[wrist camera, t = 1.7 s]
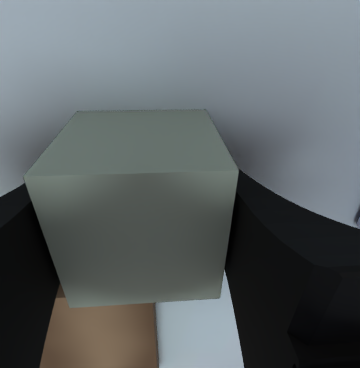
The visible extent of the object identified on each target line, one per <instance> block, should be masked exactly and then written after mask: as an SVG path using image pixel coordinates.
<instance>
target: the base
mask: <svg viewBox="0 0 360 368" xmlns="http://www.w3.org/2000/svg"><path fill="white" fill-rule="evenodd" d="M40 368H159V357H158V341H157V326H156V310H155V303H141V304H126V305H110V306H95V307H79V308H69V305H68V302H67V299H66V297H65V294H64V291H63V288H62V285H61V283H60V285H59V288H58V292H57V295H56V299H55V303H54V307H53V311H52V315H51V319H50V323H49V327H48V332H47V336H46V340H45V344H44V349H43V354H42V358H41V363H40Z"/></svg>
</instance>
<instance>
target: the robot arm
mask: <svg viewBox="0 0 360 368" xmlns="http://www.w3.org/2000/svg"><path fill="white" fill-rule="evenodd" d="M238 170H239V169H238ZM357 226H358V227H359V228H360V217H359V219H358V221H357ZM224 269H225V273H226V276H227V280H228V285H229V290H230V294H231V299H232V304H233V309H234V314H235V319H236V324H237V329H238V334H239V340H240V346H241V351H242V357H243V362H244V368H360V229H358V228H355V227H351V226H348V225H345V224H343V223H340V222H337V221H334V220H331V219H329V218H326V217H324V216H321V215H319V214H316V213H314V212H312V211H309V210H307V209H305V208H303V207H300V206H298V205H296V204H294V203H292V202H290V201H288V200H286V199H284V198H283V197H281V196H279V195H277V194H275V193H274V192H272V191H270V190H269V189H267V188H265V187H264V186H262V185H261V184H259V183H258V182H256V181H255V180H253V179H252V178H250V177H249V176H247V175H246V174H245V173H243V172H242V171H241V170H239V173H238V180H237V187H236V193H235V200H234V207H233V214H232V220H231V227H230V234H229V241H228V248H227V254H226V261H225V268H224ZM59 285H60V280H59V277H58V274H57V271H56V268H55V266H54V263H53V260H52V257H51V254H50V251H49V249H48V246H47V243H46V240H45V237H44V235H43V232H42V229H41V226H40V223H39V220H38V218H37V215H36V212H35V209H34V206H33V204H32V201H31V198H30V195H29V192H28V189H27V187H26V184H25V183H24V184H23V185H21V186H19V187H18V188H16V189H14V190H12V191H11V192H9V193H7V194H5V195H3V196H2V197H0V368H40V363H41V358H42V354H43V349H44V344H45V340H46V336H47V332H48V327H49V323H50V319H51V315H52V311H53V307H54V303H55V299H56V295H57V292H58V288H59Z"/></svg>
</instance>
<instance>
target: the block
mask: <svg viewBox="0 0 360 368" xmlns="http://www.w3.org/2000/svg"><path fill="white" fill-rule="evenodd" d="M238 173H239V170H238V168H237V166H236V164H235V162H234V160H233V159H232V157H231V155H230V153H229V151H228V149H227V148H226V146H225V144H224V142H223V140H222V138H221V137H220V135H219V133H218V131H217V129H216V127H215V126H214V124H213V122H212V120H211V118H210V116H209V115H208V113H207V111H206V110H131V111H77V112H76V113H75V115H74V116H73V117H72V118H71V119H70V121H69V122H68V123H67V124H66V126H65V127H64V128H63V129H62V130H61V132H60V133H59V134H58V135H57V136H56V138H55V139H54V140H53V141H52V142H51V144H50V145H49V146H48V147H47V148H46V150H45V151H44V152H43V153H42V155H41V156H40V157H39V158H38V159H37V161H36V162H35V163H34V164H33V165H32V167H31V168H30V169H29V170H28V171H27V173H26V174H25V175H24V176H23V178H24V181H25V184H26V187H27V189H28V192H29V195H30V198H31V201H32V204H33V206H34V209H35V212H36V215H37V218H38V220H39V223H40V226H41V229H42V232H43V235H44V237H45V240H46V243H47V246H48V249H49V251H50V254H51V257H52V260H53V263H54V266H55V268H56V271H57V274H58V277H59V280H60V283H61V285H62V288H63V291H64V294H65V297H66V299H67V302H68V305H69V308H79V307H95V306H110V305H126V304H141V303H156V302H172V301H187V300H203V299H218V298H220V295H221V288H222V281H223V275H224V268H225V261H226V254H227V248H228V241H229V234H230V227H231V220H232V214H233V207H234V200H235V193H236V187H237V180H238Z"/></svg>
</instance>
